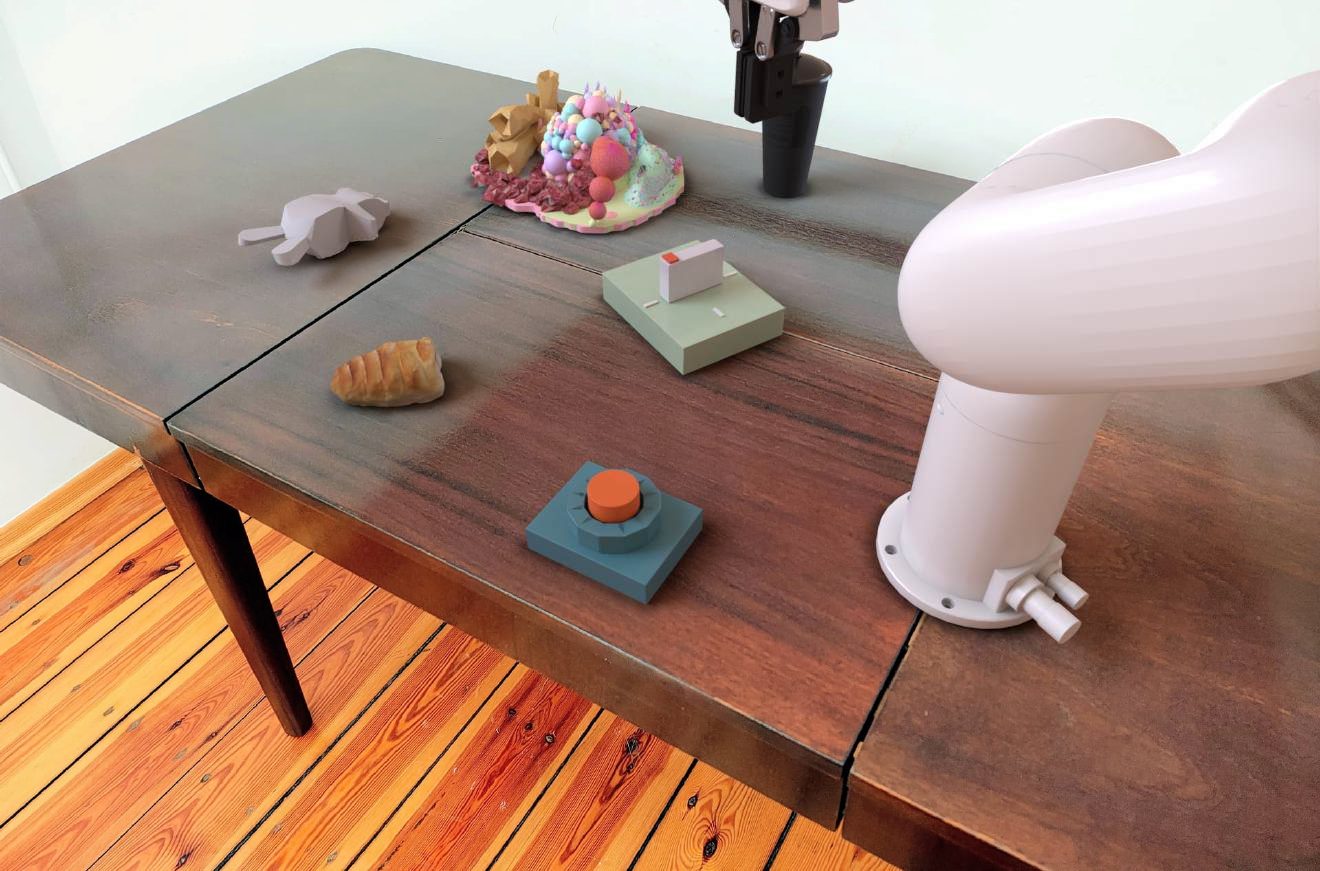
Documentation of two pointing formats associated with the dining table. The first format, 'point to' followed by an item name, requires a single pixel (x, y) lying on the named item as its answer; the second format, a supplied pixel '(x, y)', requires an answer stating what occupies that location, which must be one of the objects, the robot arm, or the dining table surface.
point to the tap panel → (693, 313)
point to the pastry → (391, 375)
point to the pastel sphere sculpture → (575, 162)
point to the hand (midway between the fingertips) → (761, 113)
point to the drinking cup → (795, 129)
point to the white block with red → (691, 270)
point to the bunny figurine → (322, 225)
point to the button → (613, 496)
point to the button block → (616, 535)
